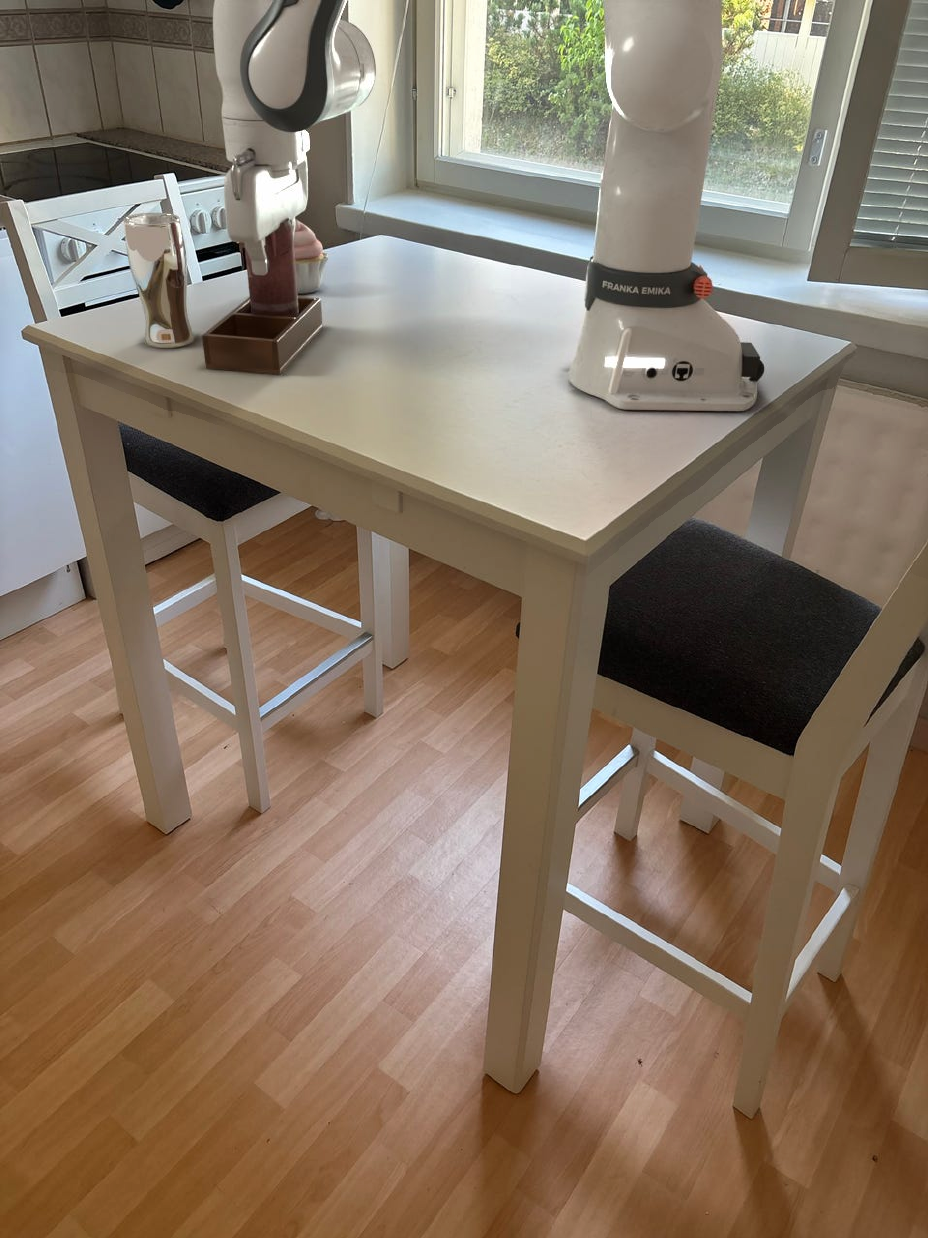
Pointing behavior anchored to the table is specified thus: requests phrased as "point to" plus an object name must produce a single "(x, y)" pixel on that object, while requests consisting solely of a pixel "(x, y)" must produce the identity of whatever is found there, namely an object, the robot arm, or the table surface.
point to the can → (275, 276)
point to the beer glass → (160, 276)
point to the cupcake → (308, 259)
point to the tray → (261, 338)
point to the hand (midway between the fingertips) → (274, 263)
